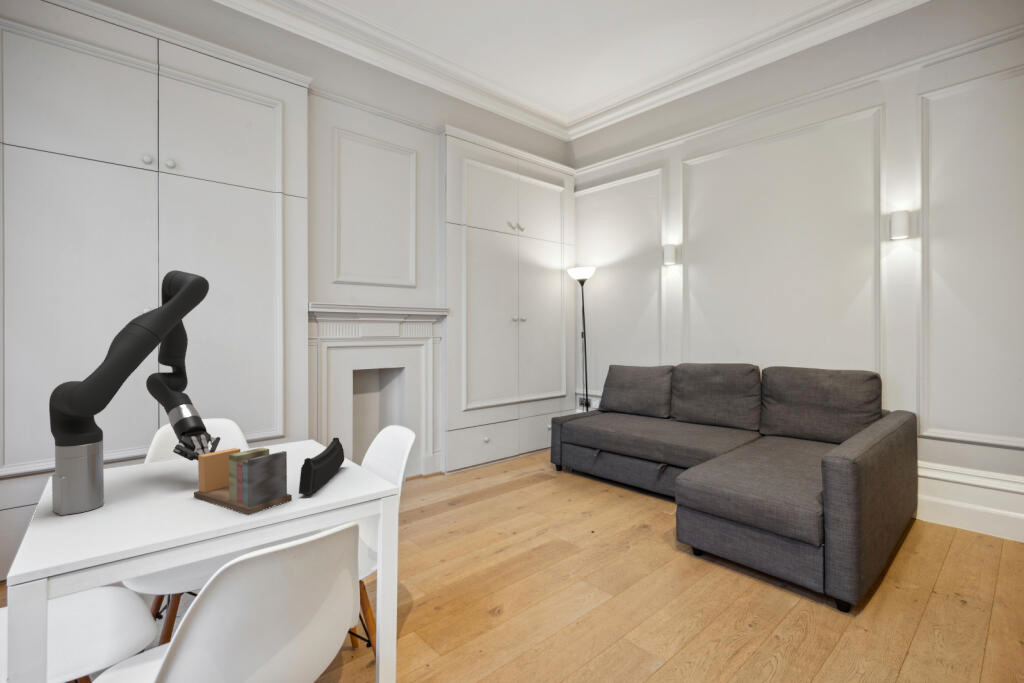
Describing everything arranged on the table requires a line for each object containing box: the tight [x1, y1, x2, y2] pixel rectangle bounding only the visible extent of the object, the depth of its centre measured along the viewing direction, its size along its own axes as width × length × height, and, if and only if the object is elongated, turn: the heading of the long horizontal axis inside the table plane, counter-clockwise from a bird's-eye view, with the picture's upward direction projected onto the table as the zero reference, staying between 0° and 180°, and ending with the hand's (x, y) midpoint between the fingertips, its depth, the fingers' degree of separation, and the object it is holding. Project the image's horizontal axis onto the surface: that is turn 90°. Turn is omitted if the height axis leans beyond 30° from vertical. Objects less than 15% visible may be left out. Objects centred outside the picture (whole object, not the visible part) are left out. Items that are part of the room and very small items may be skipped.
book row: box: [193, 447, 293, 516], centre depth 128 cm, size 12×26×14 cm, turn 60°
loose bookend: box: [197, 447, 241, 493], centre depth 133 cm, size 10×3×10 cm, turn 150°
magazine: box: [298, 437, 345, 495], centre depth 143 cm, size 17×3×30 cm
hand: (209, 467), depth 137 cm, fingers closed
